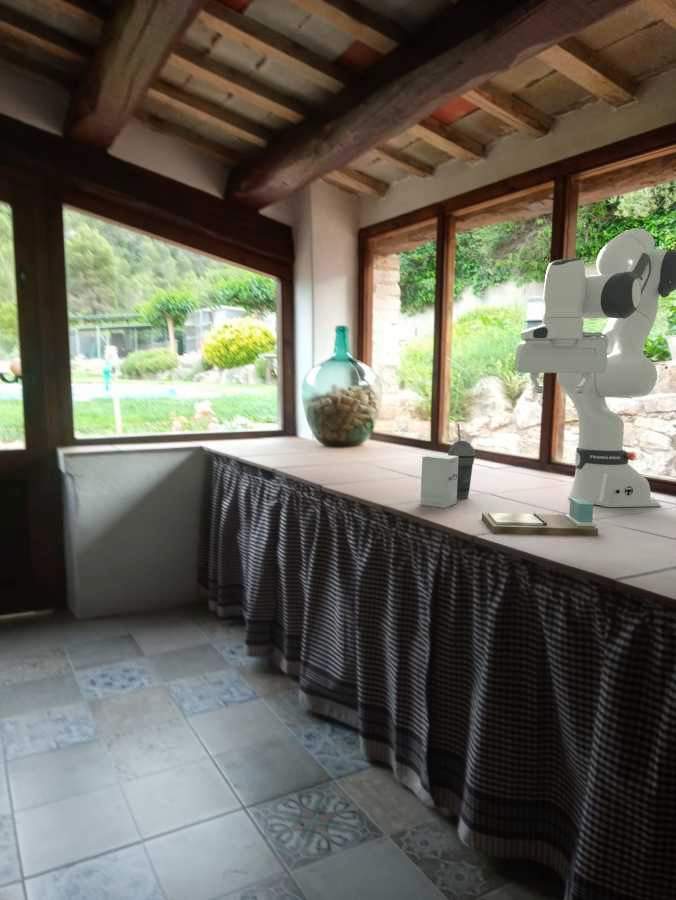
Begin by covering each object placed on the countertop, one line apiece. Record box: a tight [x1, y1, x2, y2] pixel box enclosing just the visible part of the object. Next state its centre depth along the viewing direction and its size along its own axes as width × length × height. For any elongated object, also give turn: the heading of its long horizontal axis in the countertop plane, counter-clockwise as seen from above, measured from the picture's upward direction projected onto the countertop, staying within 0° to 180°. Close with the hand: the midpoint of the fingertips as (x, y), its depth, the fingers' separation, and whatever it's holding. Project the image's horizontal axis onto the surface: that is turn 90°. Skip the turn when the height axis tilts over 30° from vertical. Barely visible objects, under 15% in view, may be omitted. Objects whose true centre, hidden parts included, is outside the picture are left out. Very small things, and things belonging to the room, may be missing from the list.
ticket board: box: [481, 512, 599, 537], centre depth 143 cm, size 22×13×2 cm, turn 88°
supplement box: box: [419, 453, 459, 509], centre depth 165 cm, size 7×7×13 cm
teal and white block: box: [564, 498, 598, 527], centre depth 143 cm, size 4×9×4 cm, turn 178°
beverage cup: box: [447, 423, 476, 500], centre depth 175 cm, size 7×7×20 cm
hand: (559, 393), depth 147 cm, fingers open, 8 cm apart
